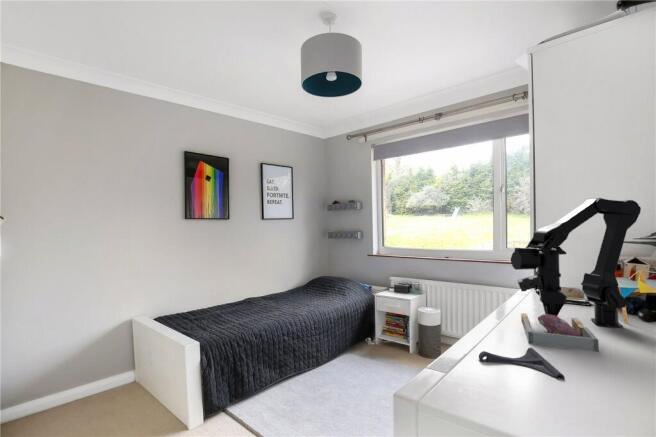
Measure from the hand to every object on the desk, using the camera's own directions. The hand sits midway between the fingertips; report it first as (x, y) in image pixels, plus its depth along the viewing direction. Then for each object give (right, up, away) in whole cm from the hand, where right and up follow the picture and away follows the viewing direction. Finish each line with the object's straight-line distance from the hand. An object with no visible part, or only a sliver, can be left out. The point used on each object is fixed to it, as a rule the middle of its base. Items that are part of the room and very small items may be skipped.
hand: (549, 318), depth 102 cm
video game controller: (-4, -2, -9) cm, 10 cm away
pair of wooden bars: (-1, -2, -3) cm, 4 cm away
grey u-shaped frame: (-6, -2, -13) cm, 14 cm away
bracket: (-26, -3, -25) cm, 36 cm away
